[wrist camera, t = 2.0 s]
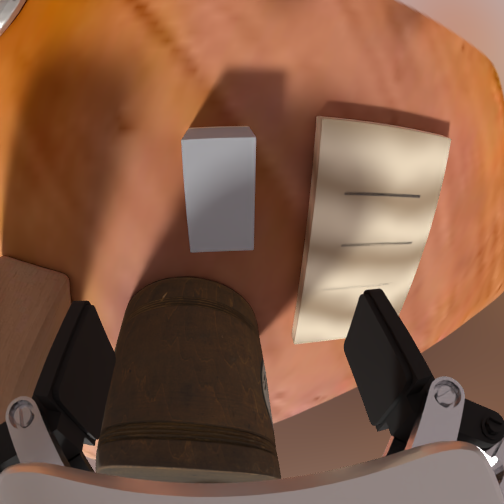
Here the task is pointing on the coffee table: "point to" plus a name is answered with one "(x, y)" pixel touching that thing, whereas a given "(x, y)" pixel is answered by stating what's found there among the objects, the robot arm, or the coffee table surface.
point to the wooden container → (188, 389)
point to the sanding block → (219, 187)
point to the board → (364, 219)
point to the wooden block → (27, 324)
